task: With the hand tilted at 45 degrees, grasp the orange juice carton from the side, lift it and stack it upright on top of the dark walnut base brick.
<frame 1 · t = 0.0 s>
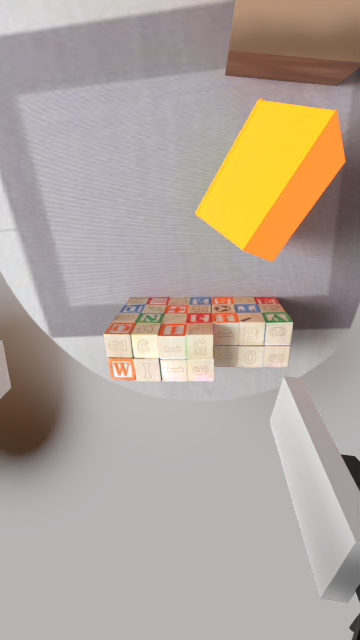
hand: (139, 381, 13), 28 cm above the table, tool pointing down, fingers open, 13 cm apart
orange juice: (242, 190, 35), on the table
stack of blocks: (201, 315, 42), on the table
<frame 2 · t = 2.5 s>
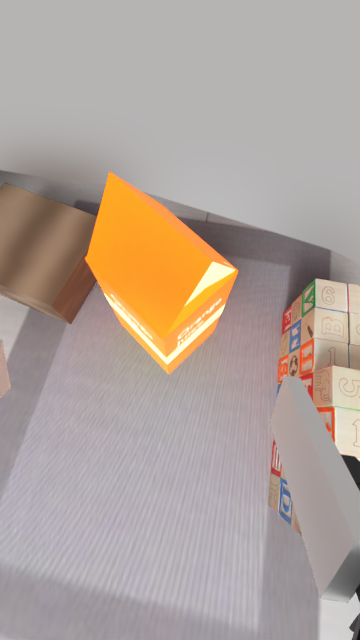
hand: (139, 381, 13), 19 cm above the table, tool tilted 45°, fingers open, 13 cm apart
orange juice: (167, 327, 35), on the table
base brick: (48, 266, 37), on the table
stack of blocks: (302, 403, 32), on the table
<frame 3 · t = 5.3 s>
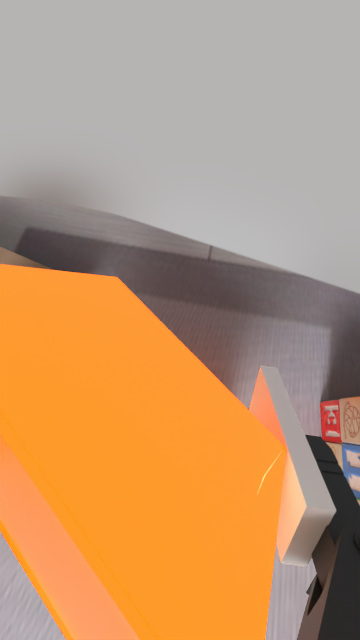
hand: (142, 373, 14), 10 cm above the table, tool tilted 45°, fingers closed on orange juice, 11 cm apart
orange juice: (148, 429, 23), on the table, touching gripper
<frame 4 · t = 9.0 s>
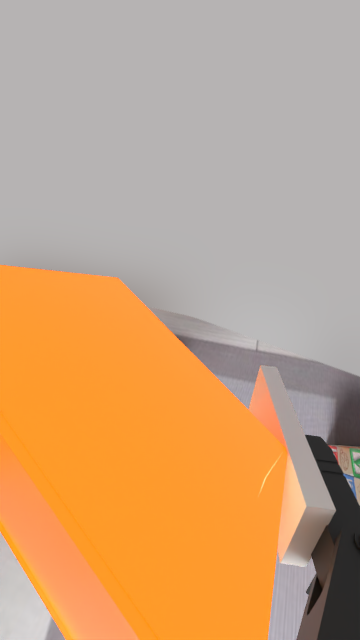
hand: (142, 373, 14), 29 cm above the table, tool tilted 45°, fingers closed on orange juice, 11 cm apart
orange juice: (149, 429, 23), point 18 cm above the table, touching gripper
stack of blocks: (358, 537, 35), on the table
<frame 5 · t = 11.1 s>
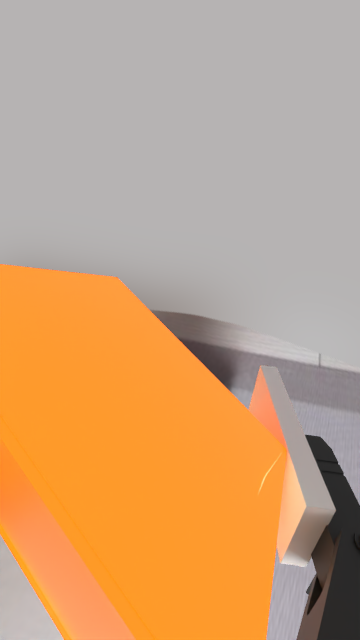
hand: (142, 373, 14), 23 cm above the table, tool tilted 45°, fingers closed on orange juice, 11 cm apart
orange juice: (148, 429, 23), point 12 cm above the table, touching gripper
when the fingers open (18 cm above the table, at t = 12.9 s): orange juice drops 2 cm, point 6 cm above the table.
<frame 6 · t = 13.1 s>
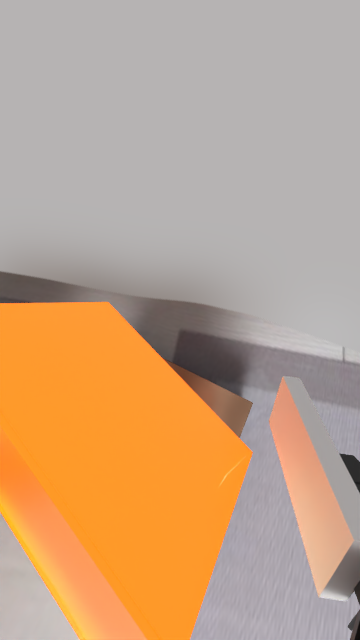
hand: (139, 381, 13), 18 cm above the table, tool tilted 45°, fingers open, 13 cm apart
orange juice: (143, 434, 24), point 6 cm above the table
base brick: (156, 429, 30), on the table
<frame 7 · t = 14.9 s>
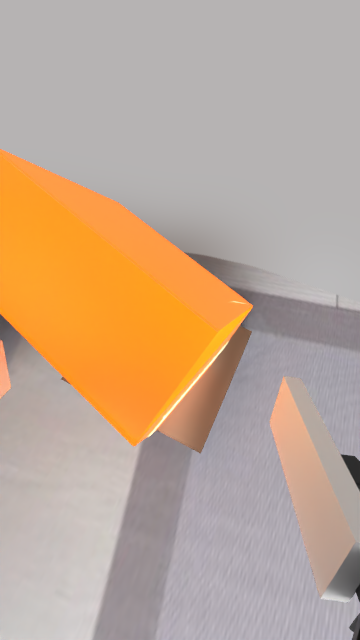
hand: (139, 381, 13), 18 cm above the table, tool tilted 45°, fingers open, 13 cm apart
orange juice: (150, 364, 26), point 5 cm above the table
base brick: (162, 366, 32), on the table
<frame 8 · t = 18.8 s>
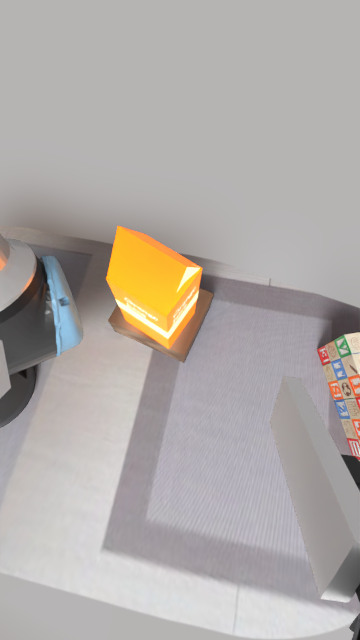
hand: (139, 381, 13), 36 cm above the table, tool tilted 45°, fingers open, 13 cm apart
orange juice: (160, 317, 47), point 5 cm above the table, touching base brick
base brick: (163, 319, 53), on the table, touching orange juice
stack of blocks: (352, 406, 48), on the table
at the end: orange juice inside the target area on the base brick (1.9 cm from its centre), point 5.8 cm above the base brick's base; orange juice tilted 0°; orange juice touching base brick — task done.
